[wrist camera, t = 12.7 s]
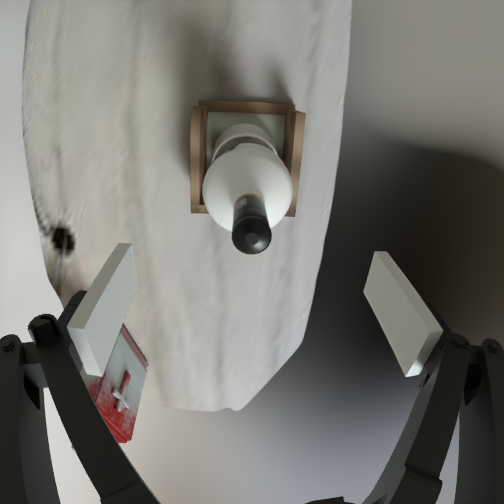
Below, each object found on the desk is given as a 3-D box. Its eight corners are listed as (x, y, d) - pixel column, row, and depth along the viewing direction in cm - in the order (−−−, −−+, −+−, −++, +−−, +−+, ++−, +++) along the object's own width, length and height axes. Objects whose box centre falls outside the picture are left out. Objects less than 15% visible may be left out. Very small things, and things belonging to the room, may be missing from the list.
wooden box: (200, 100, 43) (191, 101, 35) (294, 104, 44) (306, 107, 36) (198, 197, 51) (191, 218, 43) (285, 200, 52) (294, 222, 44)
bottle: (153, 363, 70) (129, 473, 44) (119, 366, 71) (89, 468, 44) (125, 319, 63) (84, 438, 37) (90, 325, 64) (43, 433, 38)
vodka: (233, 191, 49) (228, 316, 23) (202, 142, 45) (151, 216, 19) (285, 162, 47) (343, 260, 21) (255, 111, 43) (282, 139, 17)
